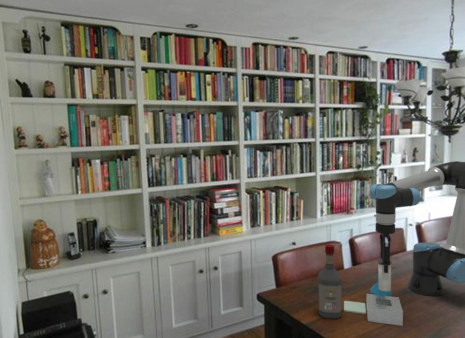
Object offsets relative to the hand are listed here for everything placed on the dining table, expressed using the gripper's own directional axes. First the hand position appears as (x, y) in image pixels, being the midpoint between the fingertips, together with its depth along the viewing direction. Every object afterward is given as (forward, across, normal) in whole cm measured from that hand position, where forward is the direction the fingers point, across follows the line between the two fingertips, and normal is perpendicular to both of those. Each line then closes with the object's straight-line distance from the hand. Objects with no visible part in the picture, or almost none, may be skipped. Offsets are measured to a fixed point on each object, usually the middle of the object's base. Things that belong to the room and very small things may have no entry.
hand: (384, 276), depth 148 cm
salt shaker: (+5, 0, 0) cm, 5 cm away
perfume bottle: (+17, -14, 0) cm, 22 cm away
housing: (+17, 0, 0) cm, 17 cm away
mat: (+17, -4, -12) cm, 21 cm away
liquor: (+17, +5, -22) cm, 28 cm away
